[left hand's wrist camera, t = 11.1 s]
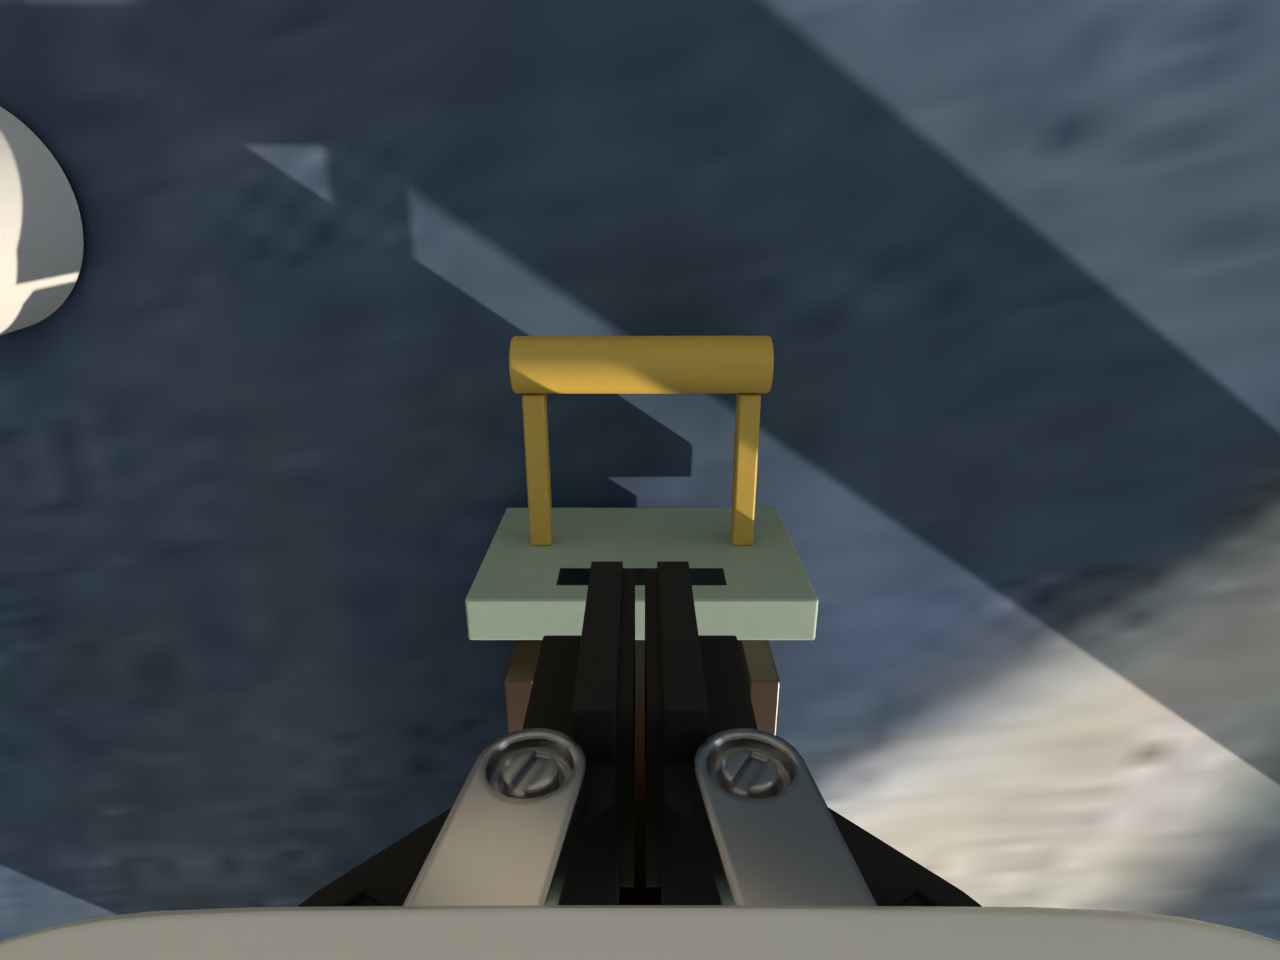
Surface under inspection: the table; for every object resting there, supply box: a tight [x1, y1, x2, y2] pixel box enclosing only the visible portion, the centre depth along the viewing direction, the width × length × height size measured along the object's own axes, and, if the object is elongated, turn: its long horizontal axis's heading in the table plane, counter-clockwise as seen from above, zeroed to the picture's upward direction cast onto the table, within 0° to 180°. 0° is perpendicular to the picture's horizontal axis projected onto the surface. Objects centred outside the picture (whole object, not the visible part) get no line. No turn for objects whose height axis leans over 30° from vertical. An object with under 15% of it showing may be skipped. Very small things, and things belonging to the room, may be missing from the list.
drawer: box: [465, 336, 818, 905], centre depth 23 cm, size 26×9×6 cm, turn 0°
